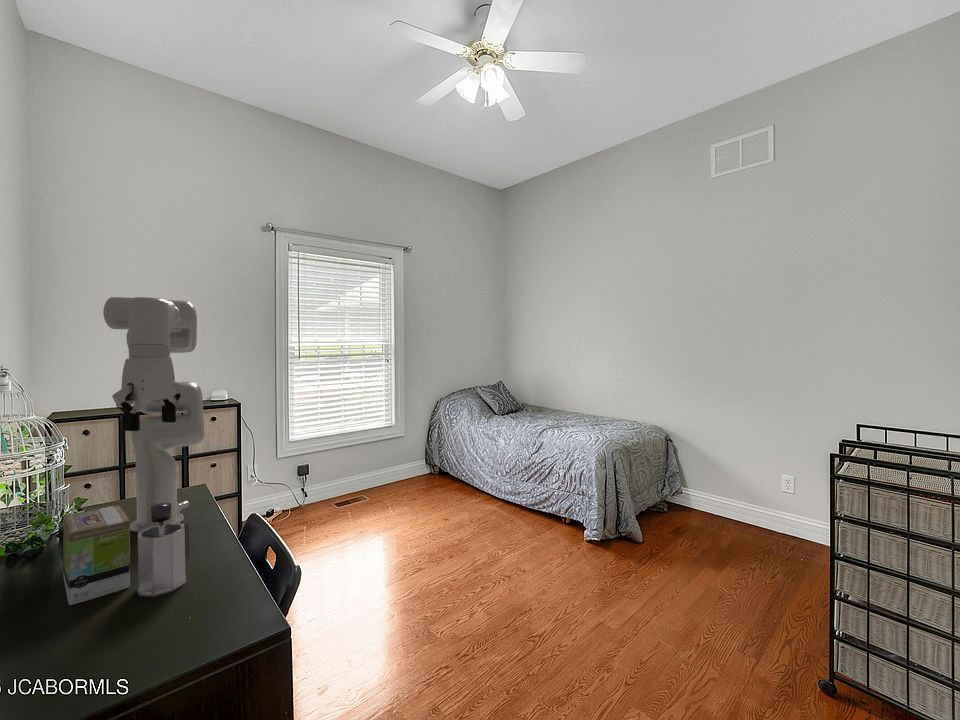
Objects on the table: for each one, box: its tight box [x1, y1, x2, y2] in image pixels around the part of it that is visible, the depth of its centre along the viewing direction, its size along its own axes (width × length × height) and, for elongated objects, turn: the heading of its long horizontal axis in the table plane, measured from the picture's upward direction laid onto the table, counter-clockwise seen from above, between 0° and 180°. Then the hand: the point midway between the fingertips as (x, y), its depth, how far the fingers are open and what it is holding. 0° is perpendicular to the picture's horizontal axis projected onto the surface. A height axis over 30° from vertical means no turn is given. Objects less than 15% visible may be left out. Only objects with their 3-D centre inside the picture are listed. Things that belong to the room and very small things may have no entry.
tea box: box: [62, 504, 131, 606], centre depth 94 cm, size 15×10×15 cm, turn 47°
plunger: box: [151, 502, 172, 536], centre depth 93 cm, size 5×5×13 cm
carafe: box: [137, 522, 190, 598], centre depth 95 cm, size 11×8×12 cm
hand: (151, 426), depth 100 cm, fingers open, 9 cm apart
